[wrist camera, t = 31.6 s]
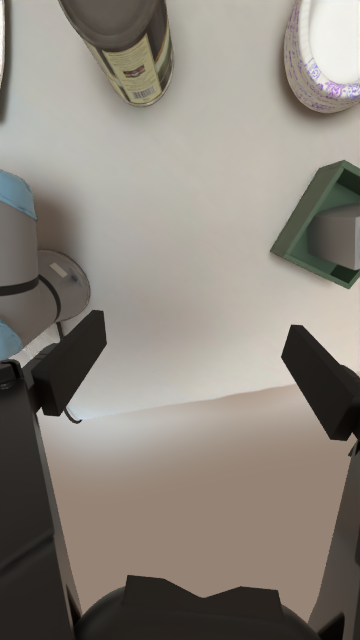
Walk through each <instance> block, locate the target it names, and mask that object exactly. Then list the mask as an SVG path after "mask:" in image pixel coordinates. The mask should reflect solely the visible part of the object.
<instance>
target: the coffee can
mask: <svg viewBox="0 0 360 640" xmlns="http://www.w3.org/2000/svg"><path fill="white" fill-rule="evenodd" d="M58 1H59V4H60V6H61V8H62V10H63V12H64V14H65V16H66V17H67V19H68V21H69V22H70V24H71V25H72V26H73V28H74V29H75V30H76V32H77V33H78V34H79V35H80V36H81V38H82V39H83V41H84V42H85V44H86V45H87V47H88V49H89V50H90V52H91V53H92V55H93V56H94V58H95V59H96V61H97V62H98V64H99V66H100V67H101V69H102V70H103V72H104V73H105V75H106V76H107V78H108V79H109V81H110V82H111V85H112V86H113V88H114V90H115V91H116V93H117V94H118V95H119V96H120V97H121V98H122V99H123V100H124V101H126V102H127V103H129V104H131V105H134V106H138V107H142V106H148V105H151V104H153V103H155V102H156V101H157V100H159V99H160V98H161V97H162V96H163V94H164V93H165V91H166V90H167V88H168V85H169V83H170V80H171V77H172V73H173V66H174V55H173V47H172V43H171V36H170V29H169V22H168V15H167V7H166V0H58Z"/></svg>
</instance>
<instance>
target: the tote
mask: <svg viewBox="0 0 360 640" xmlns="http://www.w3.org/2000/svg"><path fill="white" fill-rule="evenodd" d="M359 202H360V169H359V168H358V167H356V166H354V165H352V164H351V163H349V162H347V161H345V160H342V161H339V162H336V163H334V164H331V165H328V166H325V167H322V168H319V170H318V171H317V173H316V175H315V177H314V178H313V180H312V182H311V183H310V185H309V187H308V188H307V190H306V192H305V193H304V195H303V197H302V198H301V200H300V202H299V203H298V205H297V207H296V208H295V210H294V212H293V213H292V215H291V217H290V218H289V220H288V222H287V223H286V225H285V227H284V229H283V230H282V232H281V234H280V235H279V237H278V239H277V240H276V242H275V244H274V245H273V247H272V249H271V250H270V252H272V253H274V254H276V255H278V256H280V257H282V258H284V259H286V260H288V261H290V262H293V263H295V264H297V265H299V266H301V267H303V268H305V269H307V270H309V271H311V272H313V273H315V274H318V275H320V276H322V277H324V278H326V279H328V280H330V281H332V282H334V283H336V284H338V285H340V286H343V287H345V288H347V289H350V288H351V286H352V285H353V284H354V283H355V282H356V280H357V279H358V278H359V277H360V269H357V270H352V269H350V268H347V267H344V266H341V265H339V264H336V263H333V262H330V261H328V260H325V259H322V258H319V257H317V256H314V255H311V254H308V243H307V227H308V225H309V223H310V222H311V220H312V219H313V217H314V216H315V214H316V213H317V212H320V211H324V210H327V209H330V208H333V207H336V206H340V205H343V204H346V203H359Z"/></svg>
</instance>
